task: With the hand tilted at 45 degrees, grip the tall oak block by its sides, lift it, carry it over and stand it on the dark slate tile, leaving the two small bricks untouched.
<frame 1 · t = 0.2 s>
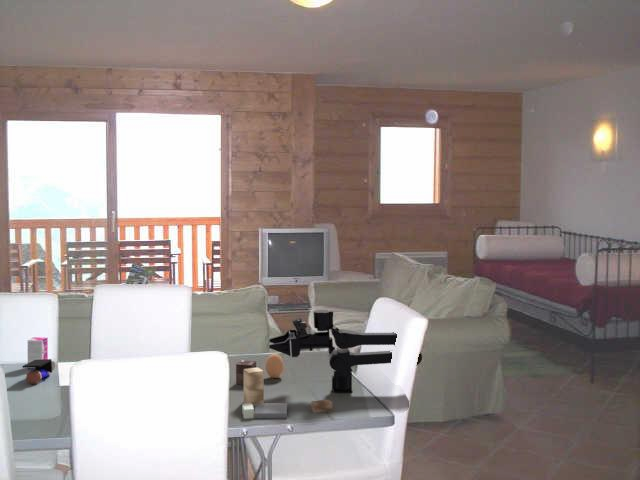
hand: (269, 343, 240), 17 cm above the table, tool horizontal, fingers open, 9 cm apart
oak block: (253, 403, 228), on the table
slate tile: (270, 412, 218), on the table
sage brick: (248, 415, 216), on the table
walnut brick: (321, 411, 221), on the table
figurine character: (39, 380, 255), on the table
supplement box: (38, 368, 271), on the table
egg: (274, 378, 258), on the table
box: (246, 383, 252), on the table
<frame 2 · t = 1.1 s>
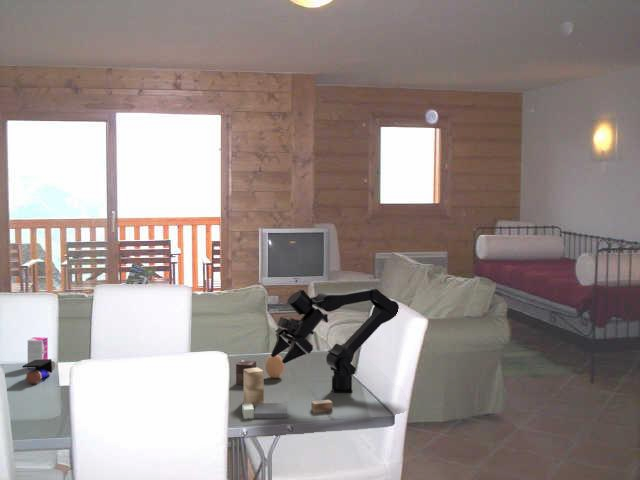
hand: (277, 359, 231), 14 cm above the table, tool tilted 45°, fingers open, 9 cm apart
nothing on the table moved.
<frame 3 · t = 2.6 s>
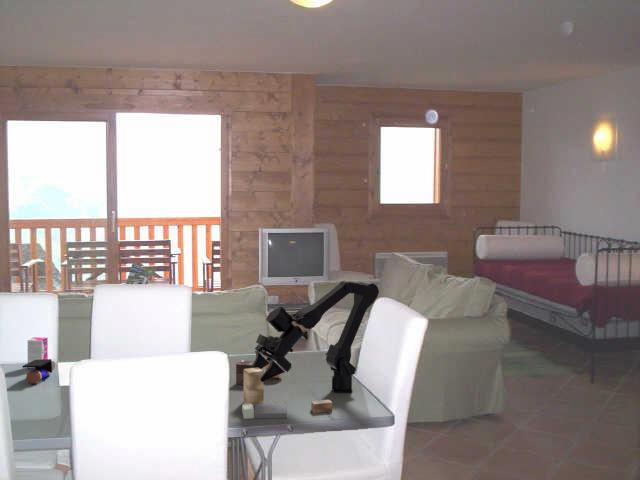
hand: (255, 377, 228), 8 cm above the table, tool tilted 45°, fingers open, 9 cm apart
nothing on the table moved.
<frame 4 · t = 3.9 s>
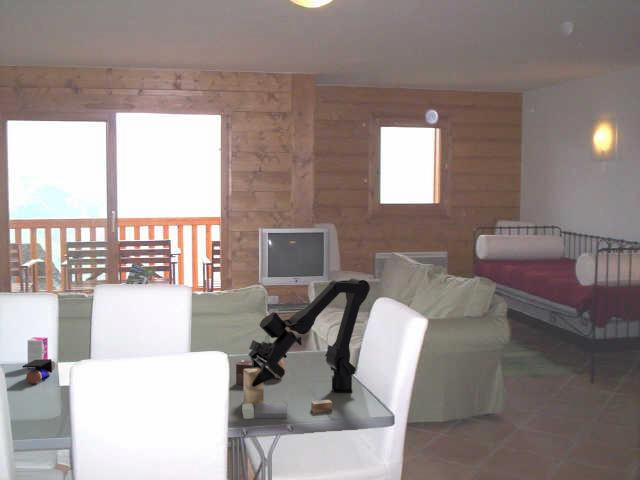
hand: (249, 383, 227), 7 cm above the table, tool tilted 45°, fingers closed on oak block, 5 cm apart
oak block: (253, 403, 228), on the table, touching gripper
everything else where it was.
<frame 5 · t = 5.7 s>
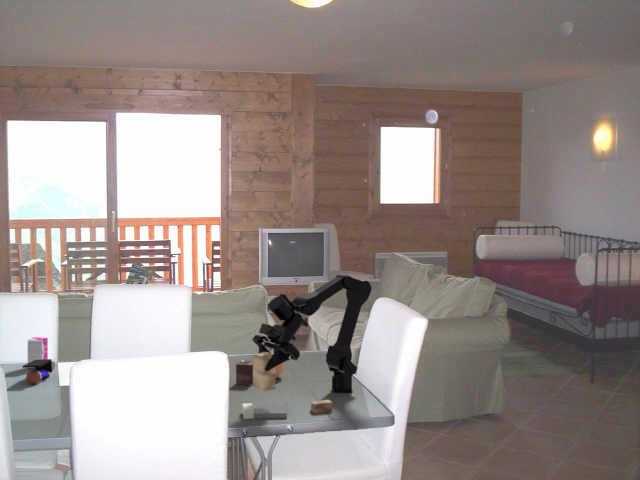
hand: (260, 368, 219), 14 cm above the table, tool tilted 45°, fingers closed on oak block, 5 cm apart
oak block: (264, 388, 221), point 7 cm above the table, touching gripper
everything else where it was.
when the fingers open (9 cm above the table, at t = 7.4 s): oak block stays where it is, resting on slate tile.
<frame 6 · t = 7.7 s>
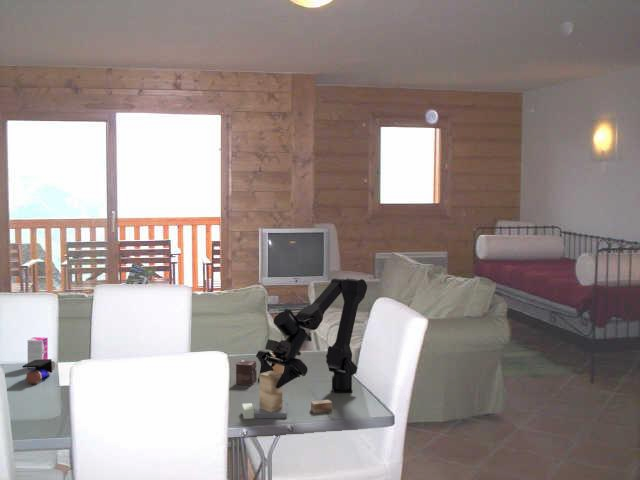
hand: (267, 385, 217), 9 cm above the table, tool tilted 45°, fingers open, 8 cm apart
oak block: (270, 408, 218), point 1 cm above the table, touching slate tile
everything else where it was.
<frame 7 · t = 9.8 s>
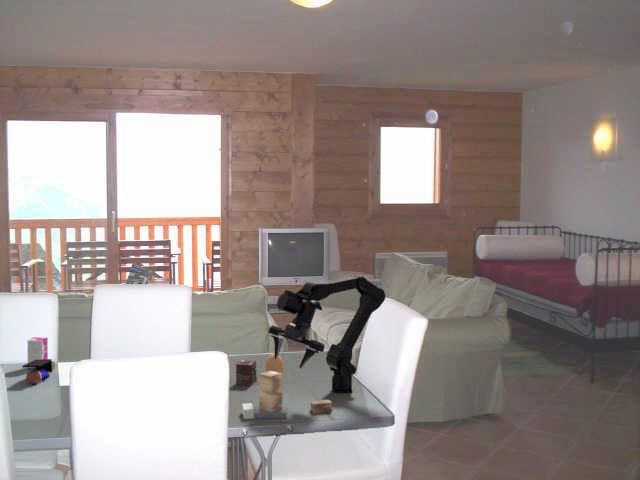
hand: (287, 363, 231), 12 cm above the table, tool tilted 25°, fingers open, 9 cm apart
nothing on the table moved.
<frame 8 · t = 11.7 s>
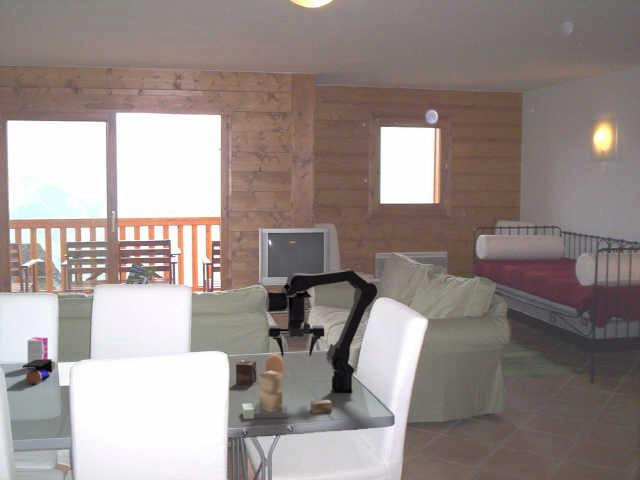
hand: (296, 356, 238), 13 cm above the table, tool pointing down, fingers open, 9 cm apart
nothing on the table moved.
at the end: oak block inside the target area on the slate tile (0.0 cm from its centre), point 1.5 cm above the slate tile's base; oak block tilted 0°; sage brick moved 0.3 cm from its start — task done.
